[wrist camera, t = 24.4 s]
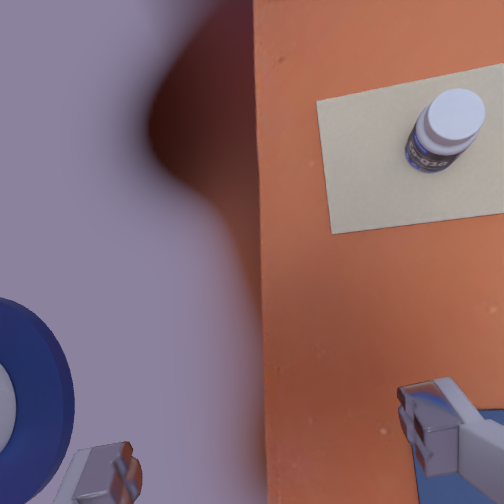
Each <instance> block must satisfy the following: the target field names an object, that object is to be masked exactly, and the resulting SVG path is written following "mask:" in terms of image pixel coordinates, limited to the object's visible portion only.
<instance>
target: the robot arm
mask: <svg viewBox="0 0 504 504" xmlns="http://www.w3.org/2000/svg"><path fill="white" fill-rule="evenodd" d="M397 398H398V399H399V401H400V403H401V405H400V406H399V408H398V413H399V420H400V423H401V427H402V430H403V432H404V435H405V437H406V439H407V441H408V442H409V443H410V444H412V445H413V446H415V456H416V458H417V460H418V462H419V464H420V466H421V468H422V470H423V472H424V473H425V475H426V477H427V478H430V477H436V476H443V475H449V474H455V473H458V475H459V476H461V477H462V478H463V479H465V480H466V481H467V482H468V483H470V484H471V485H472V486H474V487H475V488H476V489H477V490H479V491H480V492H481V493H483V494H484V495H485V496H486V497H488V498H489V499H490V500H492V501H493V502H494V503H495V504H504V426H503V425H501V424H499V423H497V422H495V421H493V420H492V419H486V420H485V419H484V418H483V417H482V416H481V414H480V413H479V412H478V411H477V409H476V408H475V407H474V405H473V404H472V403H471V402H470V400H469V399H468V398H467V397H466V395H465V394H464V393H463V392H462V390H461V389H460V388H459V387H458V385H457V384H456V383H455V382H454V380H453V379H452V378H450V377H444V378H439V379H434V380H431V381H430V380H429V381H424V382H419V383H415V384H410V385H405V386H400V387H398V388H397ZM15 419H16V398H15V392H14V388H13V385H12V382H11V380H10V377H9V375H8V373H7V372H6V370H5V369H4V367H3V366H2V365H1V363H0V453H1V451H2V450H3V449H4V448H5V446H6V444H7V443H8V441H9V439H10V437H11V434H12V432H13V428H14V424H15ZM132 452H133V448H132V446H131V444H130V442H126V441H125V442H119V443H113V444H107V445H102V446H96V447H92V448H86V449H80V450H78V451H77V452H76V453H75V454H74V456H73V458H72V460H71V462H70V465H69V467H68V469H67V471H66V474H65V476H64V479H63V481H62V483H61V485H60V488H59V490H58V492H57V495H56V497H55V499H54V501H53V504H133V503H134V501H135V500H136V499H137V498H138V496H139V495H140V492H141V487H142V469H141V465H140V463H139V461H138V459H136V458H134V457H133V456H132Z"/></svg>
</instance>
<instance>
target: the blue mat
mask: <svg viewBox="0 0 504 504" xmlns="http://www.w3.org/2000/svg"><path fill="white" fill-rule="evenodd" d="M477 411H478V412H479V413H480V414H481V416H482V417H483V418H484V419H485V420H486V419H492V420H493V421H495V422H497V423H499V424H501V425H503V426H504V409H500V410H477ZM412 450H413V458H414V466H415V473H416V481H417V489H418V496H419V504H495V503H494V502H493V501H492V500H490V499H489V498H488V497H486V496H485V495H484V494H483V493H481V492H480V491H479V490H477V489H476V488H475V487H474V486H472V485H471V484H470V483H468V482H467V481H466V480H465V479H463V478H462V477H461V476H459V475H458V473H455V474H449V475H443V476H436V477H430V478H427V477H426V475H425V473H424V472H423V470H422V468H421V466H420V464H419V462H418V460H417V458H416V456H415V446H413V445H412Z"/></svg>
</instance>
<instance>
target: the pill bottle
mask: <svg viewBox="0 0 504 504" xmlns="http://www.w3.org/2000/svg"><path fill="white" fill-rule="evenodd" d="M484 119H485V106H484V104H483V102H482V100H481V99H480V97H479V96H478V95H476V94H475V93H473V92H472V91H469V90H466V89H460V88H459V89H450V90H447V91H445V92H443V93H441V94H440V95H438V96H437V97H436V98H435V99H434V100H433V101H432V103H430V104H429V105H428V106H427V107H425V108H424V110H423V111H422V112H421V113H420V115H419V117H418V118H417V121H416V123H415V125H414V127H413V129H412V131H411V133H410V135H409V137H408V139H407V141H406V144H405V156H406V159H407V161H408V163H409V164H410V165H411V166H412V167H413V168H414V169H416V170H418V171H420V172H423V173H437V172H440V171H442V170H444V169H446V168H447V167H449V166H450V165H451V164H452V163H453V162H454V161H455V160H456V159H457V158H458V157H459V156H460V155H461V154H462V153H463V152H464V151H465V150H466V149H467V148H468V147H469V146H470V145H471V144H472V143H473V142H474V140H475V139H476V137H477V135H478V132H479V129H480V127H481V126H482V124H483V122H484Z"/></svg>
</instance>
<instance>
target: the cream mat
mask: <svg viewBox="0 0 504 504" xmlns="http://www.w3.org/2000/svg"><path fill="white" fill-rule="evenodd" d="M459 88H460V89H466V90H469V91H472V92H473V93H475V94H476V95H478V96H479V97H480V99H481V100H482V102H483V104H484V106H485V119H484V122H483V124H482V126H481V127H480V129H479V132H478V135H477V137H476V139H475V140H474V142H473V143H472V144H471V145H470V146H469V147H468V148H467V149H466V150H465V151H464V152H463V153H462V154H461V155H460V156H459V157H458V158H457V159H456V160H455V161H454V162H453V163H452V164H451V165H450V166H449V167H447V168H446V169H444V170H442V171H440V172H437V173H423V172H420V171H418V170H416V169H414V168H413V167H412V166H411V165H410V164H409V163H408V161H407V159H406V156H405V144H406V141H407V139H408V137H409V135H410V133H411V131H412V129H413V127H414V125H415V123H416V121H417V118H418V117H419V115H420V113H421V112H422V111H423V110H424V108H425V107H427V106H428V105H429V104H430V103H432V101H433V100H434V99H435V98H436V97H437V96H438V95H440V94H441V93H443V92H445V91H447V90H450V89H459ZM316 106H317V114H318V123H319V131H320V139H321V148H322V156H323V165H324V173H325V182H326V190H327V199H328V207H329V216H330V224H331V232H332V235H333V234H341V233H349V232H357V231H365V230H373V229H381V228H389V227H398V226H406V225H414V224H422V223H430V222H438V221H446V220H454V219H462V218H470V217H478V216H486V215H494V214H502V213H504V63H502V64H497V65H492V66H487V67H482V68H477V69H472V70H467V71H462V72H458V73H453V74H448V75H443V76H438V77H433V78H428V79H423V80H418V81H413V82H408V83H404V84H399V85H394V86H389V87H384V88H379V89H374V90H369V91H364V92H359V93H355V94H350V95H345V96H340V97H335V98H330V99H325V100H320V101H316Z"/></svg>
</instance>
